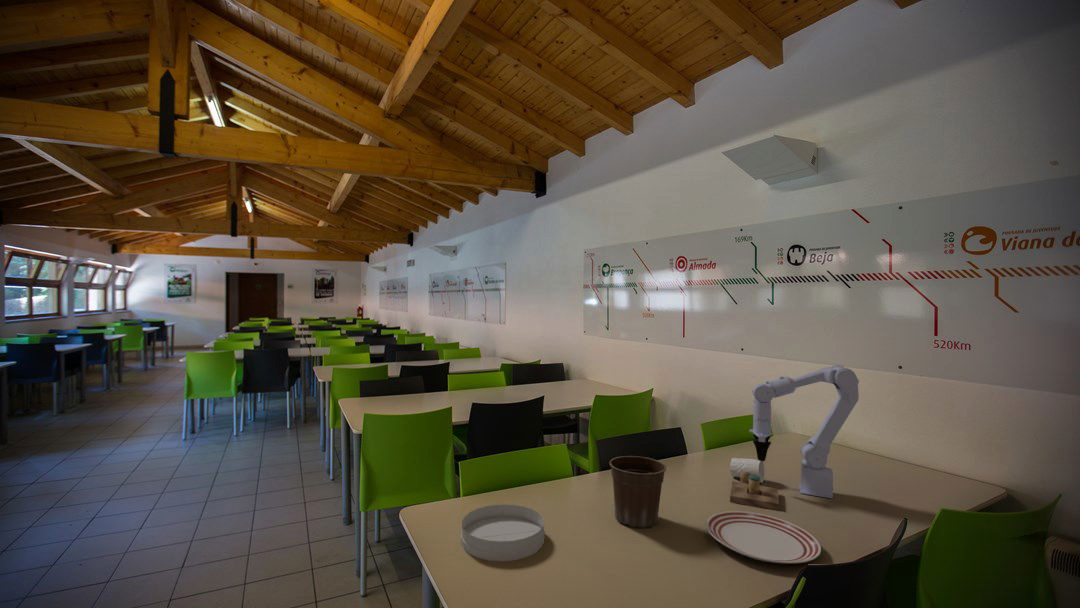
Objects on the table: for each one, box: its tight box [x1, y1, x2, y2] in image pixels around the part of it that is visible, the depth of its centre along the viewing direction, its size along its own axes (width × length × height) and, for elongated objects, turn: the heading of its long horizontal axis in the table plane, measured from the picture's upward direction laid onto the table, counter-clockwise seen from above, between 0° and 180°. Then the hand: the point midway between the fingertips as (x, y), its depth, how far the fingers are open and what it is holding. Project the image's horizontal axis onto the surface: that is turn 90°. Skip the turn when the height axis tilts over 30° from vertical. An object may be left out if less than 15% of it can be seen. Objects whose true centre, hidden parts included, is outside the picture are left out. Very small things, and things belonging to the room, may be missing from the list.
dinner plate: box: [705, 510, 822, 564], centre depth 128 cm, size 28×27×3 cm
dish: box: [460, 503, 546, 562], centre depth 128 cm, size 22×22×5 cm
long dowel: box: [749, 475, 761, 495], centre depth 159 cm, size 3×3×7 cm
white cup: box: [729, 457, 765, 484], centre depth 176 cm, size 8×8×10 cm
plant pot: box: [609, 455, 667, 529], centre depth 142 cm, size 16×16×16 cm
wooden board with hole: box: [729, 481, 780, 511], centre depth 159 cm, size 14×14×2 cm
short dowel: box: [740, 472, 751, 484], centre depth 171 cm, size 3×3×4 cm
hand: (761, 457), depth 170 cm, fingers open, 7 cm apart
